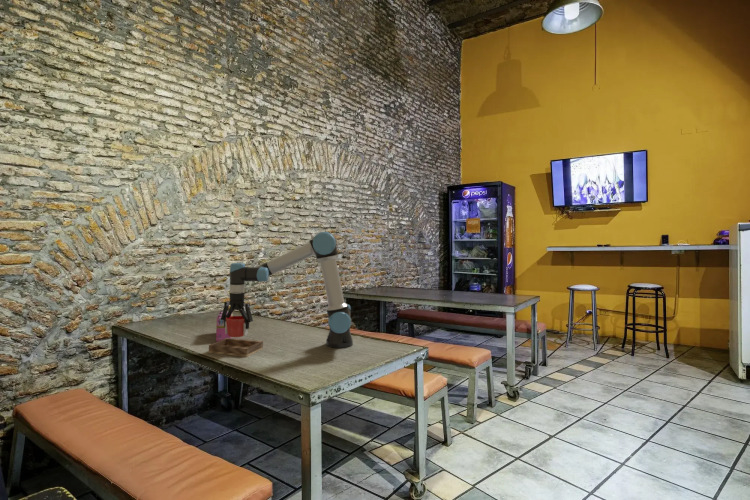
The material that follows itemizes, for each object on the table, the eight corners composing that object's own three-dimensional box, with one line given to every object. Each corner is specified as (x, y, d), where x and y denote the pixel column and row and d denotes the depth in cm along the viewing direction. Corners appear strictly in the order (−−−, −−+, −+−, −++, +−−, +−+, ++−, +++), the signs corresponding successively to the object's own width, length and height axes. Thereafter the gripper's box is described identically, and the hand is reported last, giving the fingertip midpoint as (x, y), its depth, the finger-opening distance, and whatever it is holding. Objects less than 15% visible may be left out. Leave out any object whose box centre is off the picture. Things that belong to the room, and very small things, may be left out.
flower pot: (240, 332, 228) (241, 314, 228) (250, 336, 221) (250, 317, 220) (221, 335, 221) (222, 316, 221) (231, 339, 213) (231, 320, 213)
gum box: (219, 332, 262) (220, 310, 261) (233, 331, 264) (233, 310, 263) (215, 341, 239) (216, 318, 238) (230, 341, 241) (230, 317, 240)
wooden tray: (262, 348, 226) (263, 341, 226) (246, 356, 211) (246, 348, 210) (227, 345, 232) (227, 337, 231) (208, 352, 216) (208, 345, 216)
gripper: (260, 292, 221) (259, 334, 222) (222, 290, 226) (221, 330, 227) (252, 294, 214) (251, 337, 214) (213, 291, 219) (213, 333, 220)
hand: (236, 334), depth 221 cm, fingers closed on flower pot, 10 cm apart
